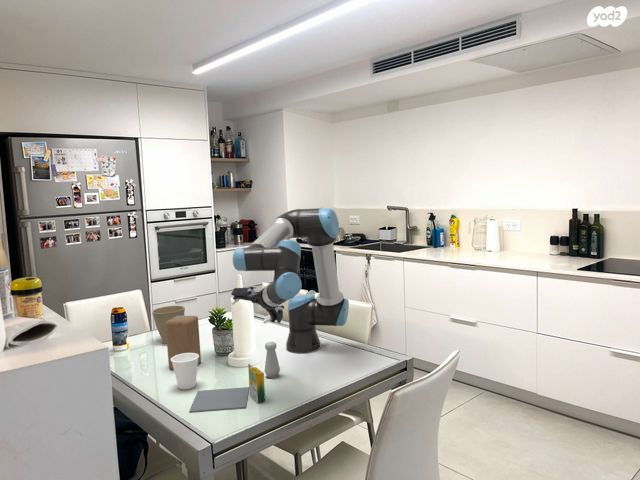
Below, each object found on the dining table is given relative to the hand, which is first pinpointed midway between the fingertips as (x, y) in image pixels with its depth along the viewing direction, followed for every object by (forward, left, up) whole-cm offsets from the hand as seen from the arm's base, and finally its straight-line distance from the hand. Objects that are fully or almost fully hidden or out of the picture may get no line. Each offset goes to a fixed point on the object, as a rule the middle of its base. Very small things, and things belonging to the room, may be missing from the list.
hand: (249, 310), depth 175 cm
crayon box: (-2, +16, -27) cm, 31 cm away
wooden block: (+29, -22, -27) cm, 45 cm away
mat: (+10, +14, -27) cm, 32 cm away
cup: (+24, 0, -27) cm, 36 cm away
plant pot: (+43, -58, -27) cm, 77 cm away
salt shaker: (-7, -4, -27) cm, 28 cm away
